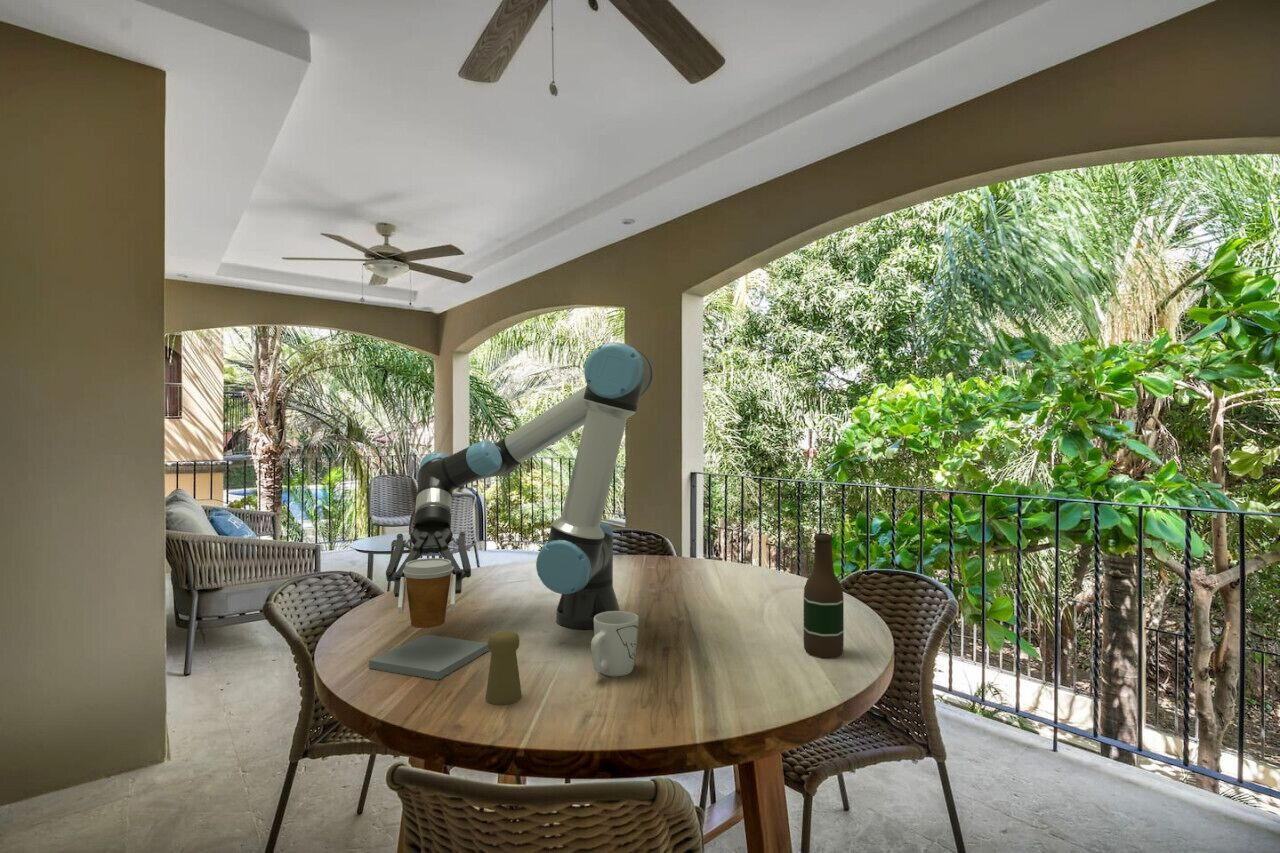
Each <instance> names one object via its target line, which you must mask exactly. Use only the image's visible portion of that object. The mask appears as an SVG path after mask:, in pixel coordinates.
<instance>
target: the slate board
mask: <svg viewBox="0 0 1280 853" xmlns="http://www.w3.org/2000/svg"><path fill="white" fill-rule="evenodd" d="M487 651H488V652H489V651H490V650H489V647H488V642H483V641H482V642H481V641H474V640H468V639H461V638H454V637H448V636H439V635H435V634H434V635H433V634H424V635H422V636H419V637H417V638H415V639H413V640H410V641H409V642H406V643H403V644H402V645H399V646H397V647H395V648H392V649H391V650H388V651H387V652H383V653H382V654H379V655H378V656H375V657H373V658H371V659H369V660H368V669H372V670H377V671H382V672H383V671H384V672H389V673H395V674H401V675H407V676H413V677H417V676H418V677H417V678H423V677H424V678H425V679H429V678H430V680H435V679H436V681H439V679H440V680H441V679H443V678H445V677H446V675H447V676H448V675H450V674H451V673H453V672H455V671H457V670H459V669H460V668H462V667H464V666H465V664H466V663H467V664H469V663H471V662H472V661H471V660H473V659H474V660H476V659H477V657H478V656H479V657H481V656H483V655H484V654H483V653H485V652H486V653H488V652H487ZM486 653H485V654H486ZM482 654H483V655H482ZM480 655H481V656H480ZM479 657H478V658H479ZM475 658H476V659H475ZM474 660H473V661H474ZM470 661H471V662H470ZM468 662H469V663H468ZM467 664H466V665H467ZM463 665H464V666H463ZM461 666H462V667H461ZM458 668H459V669H458ZM456 669H457V670H456Z"/></svg>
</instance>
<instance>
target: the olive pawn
mask: <svg viewBox="0 0 1280 853" xmlns="http://www.w3.org/2000/svg"><path fill="white" fill-rule="evenodd" d="M519 636H520V635H518V633H517V632H516V631H514V630H511V629H509V630H508V629H501V630H497V631H494V632H493V633H491V634H490V636H489V637H488V640H487V643H488V647H489V651H490V652H489V653H491V654H490V663H489V669H488V670H489V671H488V678H487V684H486V685H487V686H486V691H485V692H486V693H485V701H486V702H487V703H488V704H490V705H494V704H495V705H496V706H503V705H505V706H506V705H510V704H513V703H516V702H518V701H519V700H521V699H522V698H523V695H522V689H521V687H522V686H521V681H520V680H521V678H520V673H519V666H518V657H517V656H518V655H517V650H518V649H519V647H520V637H519ZM495 705H494V706H495Z"/></svg>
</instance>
